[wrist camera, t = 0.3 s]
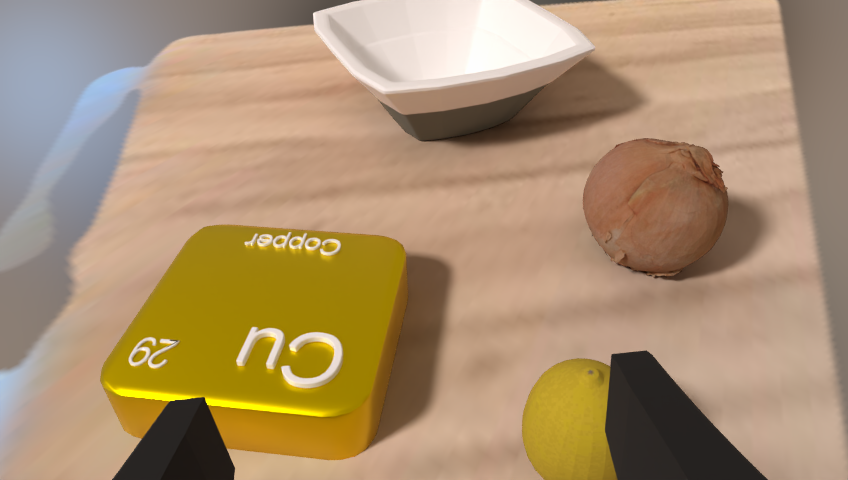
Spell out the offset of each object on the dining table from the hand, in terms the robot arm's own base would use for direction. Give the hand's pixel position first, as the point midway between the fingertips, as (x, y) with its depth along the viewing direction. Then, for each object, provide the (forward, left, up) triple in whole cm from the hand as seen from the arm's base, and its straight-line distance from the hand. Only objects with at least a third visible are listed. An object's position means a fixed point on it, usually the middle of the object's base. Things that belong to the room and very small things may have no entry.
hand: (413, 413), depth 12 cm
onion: (+30, -15, -21) cm, 40 cm away
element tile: (+21, +10, -22) cm, 32 cm away
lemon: (+12, -7, -21) cm, 26 cm away
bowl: (+53, -1, -21) cm, 57 cm away
